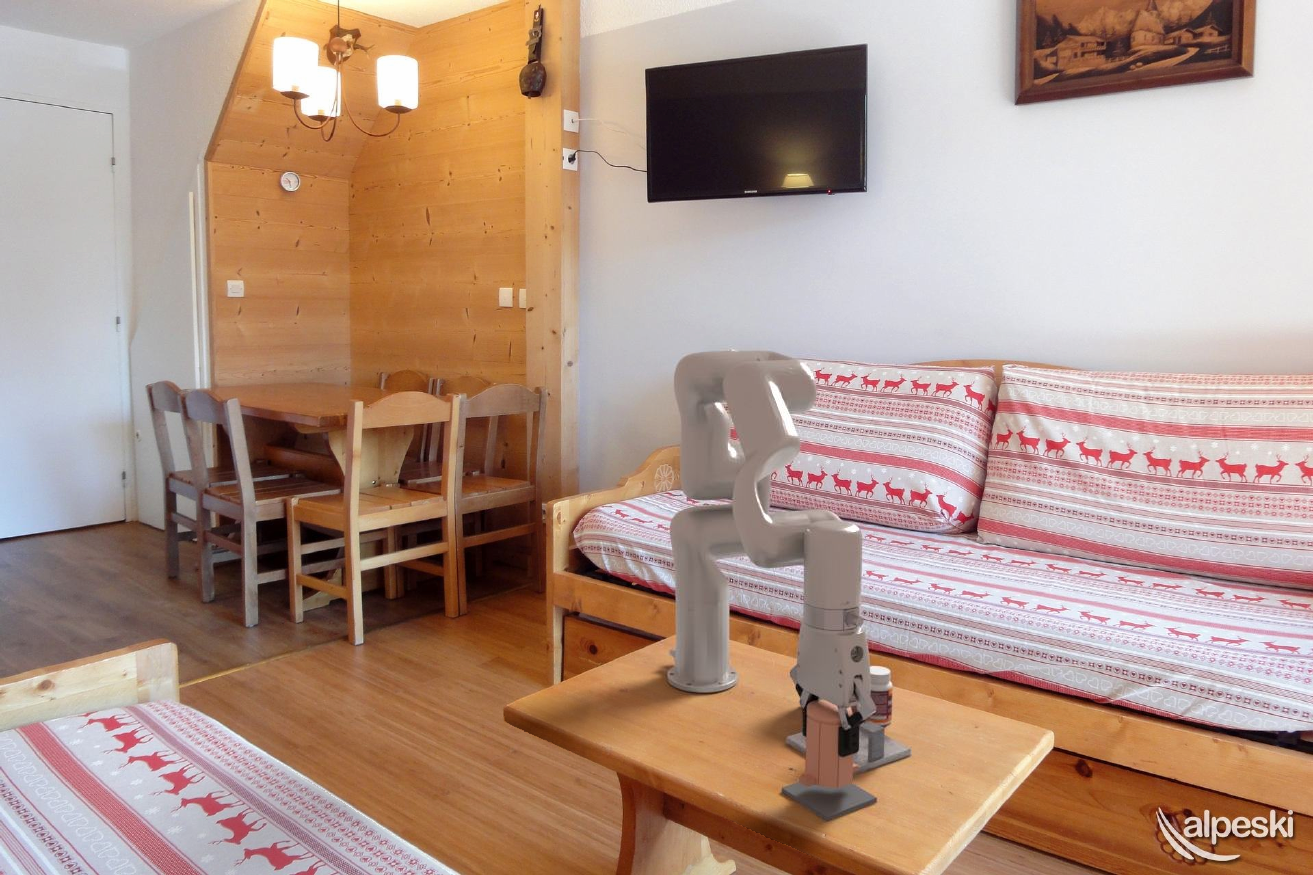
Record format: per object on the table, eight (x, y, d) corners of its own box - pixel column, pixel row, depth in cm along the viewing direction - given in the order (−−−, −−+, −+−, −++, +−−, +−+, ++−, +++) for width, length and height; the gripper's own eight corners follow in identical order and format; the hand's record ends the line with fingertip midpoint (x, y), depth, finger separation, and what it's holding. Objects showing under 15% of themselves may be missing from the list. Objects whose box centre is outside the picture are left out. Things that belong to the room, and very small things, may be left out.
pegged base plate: (786, 743, 143) (787, 674, 142) (849, 722, 150) (850, 657, 149) (845, 778, 132) (847, 703, 131) (910, 754, 139) (912, 683, 138)
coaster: (781, 791, 129) (781, 787, 129) (830, 774, 134) (830, 770, 134) (826, 821, 121) (826, 816, 121) (876, 801, 126) (876, 797, 126)
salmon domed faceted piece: (837, 760, 132) (840, 694, 131) (870, 777, 126) (873, 709, 126) (787, 774, 127) (789, 706, 126) (819, 794, 122) (821, 723, 121)
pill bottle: (894, 726, 149) (896, 675, 148) (864, 726, 149) (865, 675, 148) (888, 713, 154) (889, 664, 153) (858, 713, 154) (859, 664, 153)
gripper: (901, 627, 119) (897, 761, 121) (809, 594, 133) (808, 714, 136) (857, 638, 115) (855, 777, 117) (768, 603, 129) (767, 727, 132)
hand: (830, 742), depth 126 cm, fingers closed on salmon domed faceted piece, 6 cm apart
